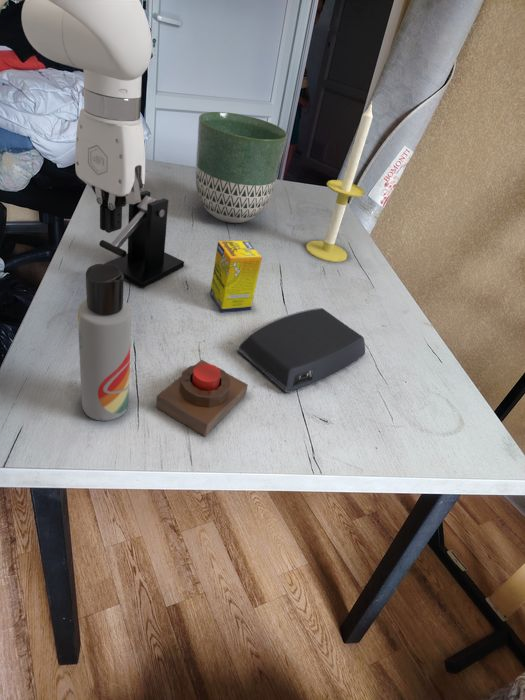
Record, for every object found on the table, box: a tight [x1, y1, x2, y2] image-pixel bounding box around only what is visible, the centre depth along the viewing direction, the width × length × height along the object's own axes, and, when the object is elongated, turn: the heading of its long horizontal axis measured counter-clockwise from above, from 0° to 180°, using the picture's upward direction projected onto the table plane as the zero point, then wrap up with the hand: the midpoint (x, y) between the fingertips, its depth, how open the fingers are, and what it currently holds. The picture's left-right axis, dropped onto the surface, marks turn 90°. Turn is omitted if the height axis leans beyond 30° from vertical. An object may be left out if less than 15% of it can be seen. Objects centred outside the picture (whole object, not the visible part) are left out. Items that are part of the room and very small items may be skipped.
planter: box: [195, 111, 288, 224], centre depth 110 cm, size 20×20×21 cm
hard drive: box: [236, 307, 366, 393], centre depth 78 cm, size 13×19×4 cm
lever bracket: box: [104, 189, 185, 290], centre depth 86 cm, size 12×9×14 cm
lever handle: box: [98, 195, 157, 257], centre depth 82 cm, size 12×5×2 cm
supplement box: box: [209, 239, 263, 313], centre depth 84 cm, size 6×6×11 cm
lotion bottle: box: [77, 263, 132, 422], centre depth 56 cm, size 6×6×20 cm
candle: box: [305, 101, 374, 263], centre depth 103 cm, size 10×10×32 cm
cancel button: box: [192, 363, 221, 391], centre depth 63 cm, size 4×4×2 cm
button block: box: [155, 359, 249, 437], centre depth 65 cm, size 10×8×4 cm
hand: (110, 228), depth 77 cm, fingers closed
